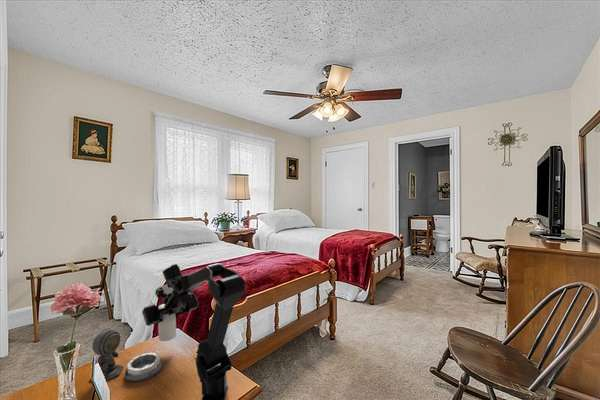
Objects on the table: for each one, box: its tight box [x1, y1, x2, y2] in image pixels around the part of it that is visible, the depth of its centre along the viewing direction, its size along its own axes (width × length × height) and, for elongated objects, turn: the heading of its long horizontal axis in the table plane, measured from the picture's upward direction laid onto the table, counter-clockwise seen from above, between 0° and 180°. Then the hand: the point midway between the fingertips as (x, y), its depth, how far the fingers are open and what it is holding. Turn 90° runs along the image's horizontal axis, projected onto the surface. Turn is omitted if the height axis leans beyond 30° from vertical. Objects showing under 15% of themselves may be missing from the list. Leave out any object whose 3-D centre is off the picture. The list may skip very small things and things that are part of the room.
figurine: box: [88, 329, 124, 383], centre depth 92 cm, size 9×10×15 cm
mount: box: [124, 352, 163, 383], centre depth 94 cm, size 11×11×4 cm
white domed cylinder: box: [157, 303, 177, 342], centre depth 104 cm, size 6×6×12 cm
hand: (165, 318), depth 105 cm, fingers closed on white domed cylinder, 6 cm apart
